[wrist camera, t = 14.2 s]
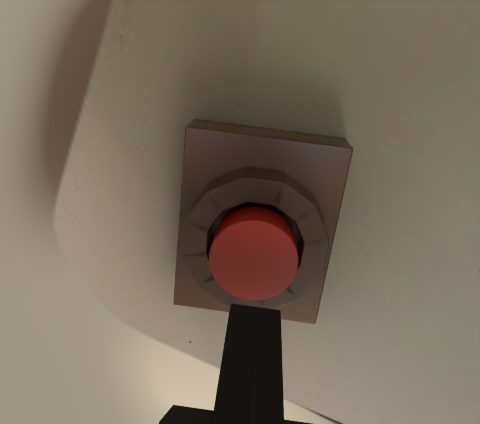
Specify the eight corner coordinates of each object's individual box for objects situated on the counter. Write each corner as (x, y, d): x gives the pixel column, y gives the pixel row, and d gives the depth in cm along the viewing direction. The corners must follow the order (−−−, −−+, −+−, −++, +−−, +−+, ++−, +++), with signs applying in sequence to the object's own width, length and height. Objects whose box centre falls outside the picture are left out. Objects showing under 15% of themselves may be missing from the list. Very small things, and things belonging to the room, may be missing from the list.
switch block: (193, 118, 22) (177, 133, 19) (346, 138, 22) (361, 157, 19) (180, 284, 26) (165, 324, 22) (312, 302, 26) (318, 345, 22)
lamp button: (217, 201, 20) (212, 214, 18) (302, 212, 20) (305, 226, 18) (210, 275, 22) (205, 294, 20) (289, 286, 21) (290, 306, 20)
